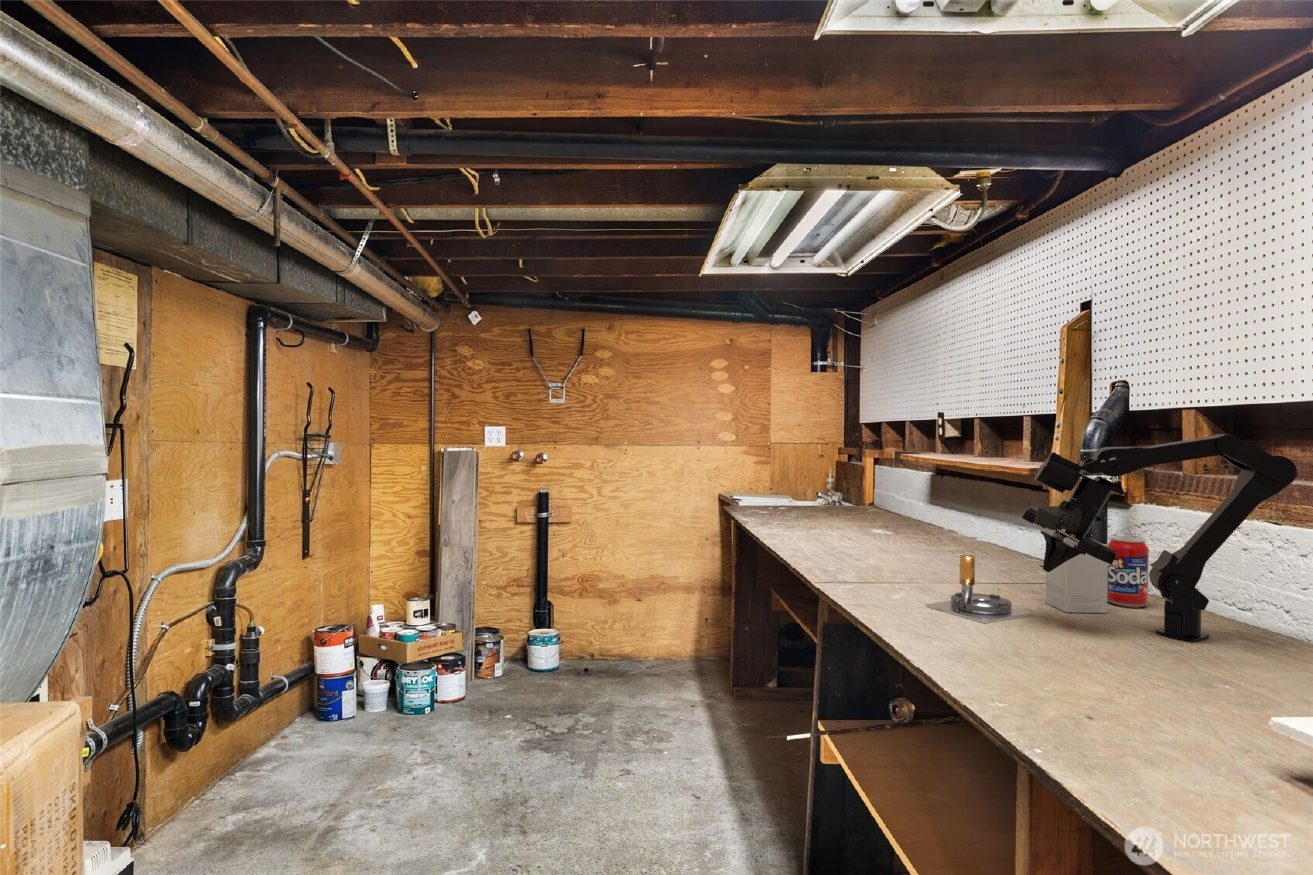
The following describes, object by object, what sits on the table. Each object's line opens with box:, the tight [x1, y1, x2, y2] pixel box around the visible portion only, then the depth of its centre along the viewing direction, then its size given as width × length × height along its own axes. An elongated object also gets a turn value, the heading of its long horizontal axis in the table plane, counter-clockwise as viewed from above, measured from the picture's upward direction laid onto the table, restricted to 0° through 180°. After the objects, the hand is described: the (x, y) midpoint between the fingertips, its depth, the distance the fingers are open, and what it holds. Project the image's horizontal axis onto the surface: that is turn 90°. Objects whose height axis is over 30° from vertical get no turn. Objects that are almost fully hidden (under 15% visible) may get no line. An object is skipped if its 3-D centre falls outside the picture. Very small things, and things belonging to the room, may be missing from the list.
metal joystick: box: [950, 554, 1013, 614], centre depth 152 cm, size 12×12×12 cm
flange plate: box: [924, 599, 1033, 624], centre depth 152 cm, size 15×15×3 cm
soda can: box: [1106, 536, 1150, 609], centre depth 159 cm, size 8×8×15 cm
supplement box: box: [1045, 538, 1108, 614], centre depth 155 cm, size 9×9×15 cm
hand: (1045, 570), depth 143 cm, fingers closed
